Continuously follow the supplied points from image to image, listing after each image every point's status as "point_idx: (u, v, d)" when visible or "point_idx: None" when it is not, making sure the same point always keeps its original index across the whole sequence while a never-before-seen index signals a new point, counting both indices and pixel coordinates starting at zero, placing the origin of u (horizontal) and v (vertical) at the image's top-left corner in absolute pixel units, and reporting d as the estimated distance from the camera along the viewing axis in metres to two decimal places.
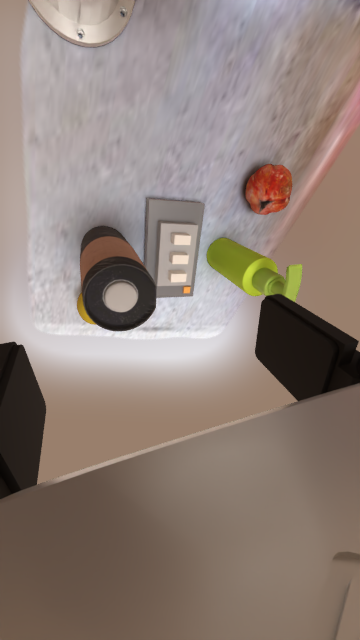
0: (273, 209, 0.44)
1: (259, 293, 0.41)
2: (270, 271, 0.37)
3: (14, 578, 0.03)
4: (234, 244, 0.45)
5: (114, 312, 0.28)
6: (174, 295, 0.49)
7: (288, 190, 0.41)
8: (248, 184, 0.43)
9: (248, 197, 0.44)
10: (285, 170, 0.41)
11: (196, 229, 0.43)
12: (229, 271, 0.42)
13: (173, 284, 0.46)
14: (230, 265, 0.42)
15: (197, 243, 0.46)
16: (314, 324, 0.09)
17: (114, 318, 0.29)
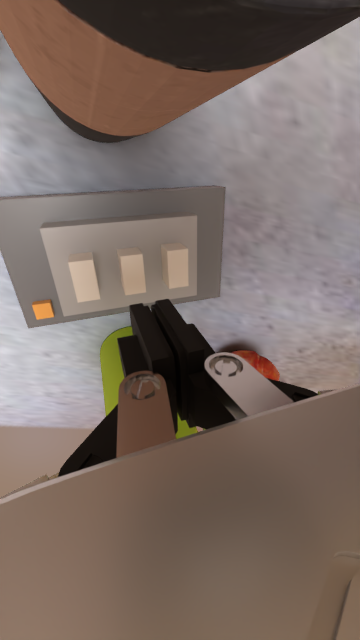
0: None
1: None
2: None
3: (14, 578, 0.03)
4: None
5: None
6: (17, 284, 0.19)
7: None
8: (248, 353, 0.29)
9: None
10: None
11: (188, 294, 0.21)
12: None
13: (55, 273, 0.18)
14: None
15: (152, 303, 0.23)
16: (175, 331, 0.09)
17: None
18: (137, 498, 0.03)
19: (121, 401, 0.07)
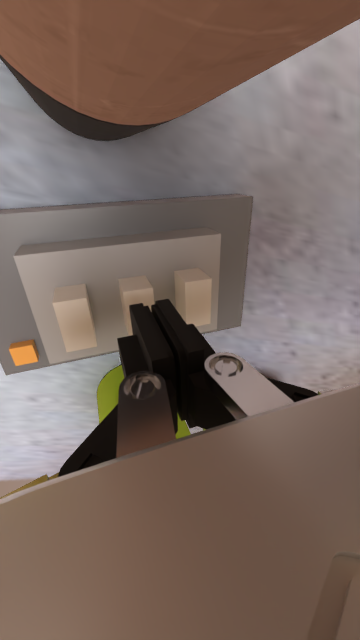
0: None
1: None
2: None
3: (14, 579, 0.03)
4: None
5: None
6: None
7: None
8: None
9: None
10: None
11: (207, 328, 0.17)
12: None
13: (37, 312, 0.13)
14: None
15: None
16: (175, 331, 0.09)
17: None
18: (137, 498, 0.03)
19: (121, 401, 0.07)
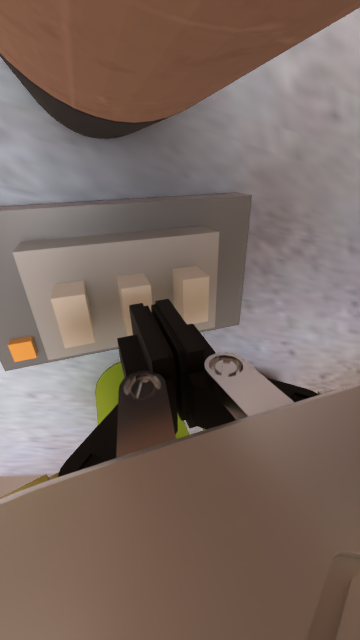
0: None
1: None
2: None
3: (14, 578, 0.03)
4: None
5: None
6: None
7: None
8: None
9: None
10: None
11: (205, 326, 0.17)
12: None
13: (35, 308, 0.13)
14: None
15: None
16: (175, 331, 0.09)
17: None
18: (137, 498, 0.03)
19: (121, 401, 0.07)
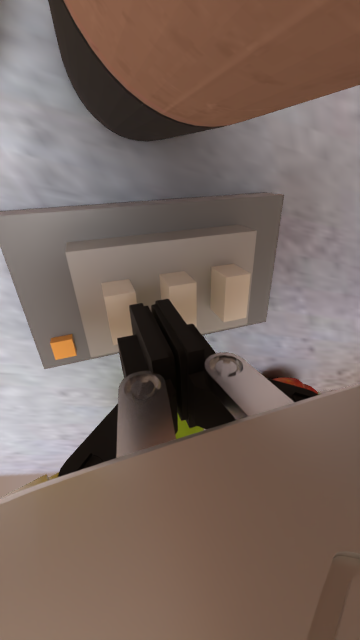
0: None
1: None
2: None
3: (14, 579, 0.03)
4: None
5: None
6: (31, 317, 0.15)
7: None
8: (291, 382, 0.25)
9: None
10: None
11: (238, 323, 0.18)
12: None
13: (83, 306, 0.14)
14: None
15: None
16: (175, 331, 0.09)
17: None
18: (137, 498, 0.03)
19: (121, 401, 0.07)
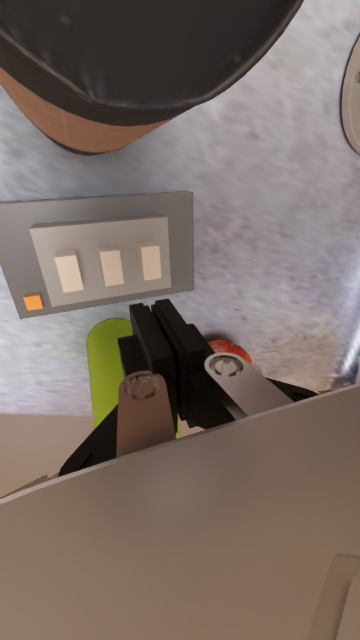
0: None
1: None
2: None
3: (14, 578, 0.03)
4: None
5: None
6: (9, 278, 0.22)
7: None
8: (222, 341, 0.32)
9: None
10: None
11: (163, 286, 0.24)
12: (120, 373, 0.21)
13: (43, 267, 0.20)
14: None
15: (132, 296, 0.26)
16: (175, 331, 0.09)
17: None
18: (137, 498, 0.03)
19: (121, 401, 0.07)
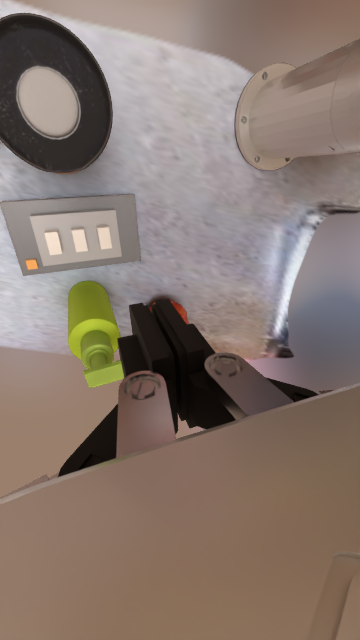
0: None
1: (74, 349, 0.31)
2: (111, 346, 0.30)
3: (14, 578, 0.03)
4: (110, 305, 0.39)
5: (13, 89, 0.16)
6: (16, 248, 0.34)
7: None
8: None
9: None
10: None
11: (116, 255, 0.37)
12: (85, 305, 0.34)
13: (38, 240, 0.33)
14: (93, 303, 0.34)
15: (97, 263, 0.39)
16: (175, 331, 0.09)
17: (0, 88, 0.16)
18: (137, 498, 0.03)
19: (121, 401, 0.07)
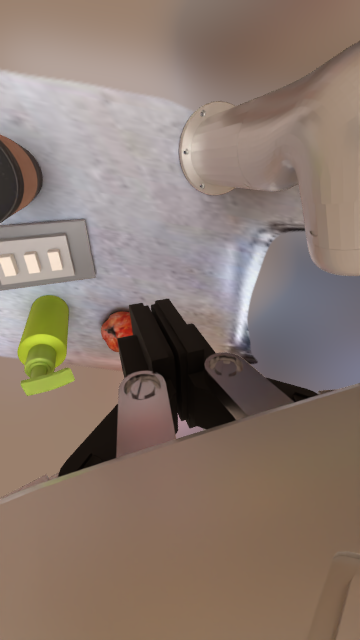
0: (109, 341, 0.47)
1: (23, 360, 0.36)
2: (54, 358, 0.35)
3: (14, 578, 0.03)
4: (66, 318, 0.44)
5: None
6: None
7: None
8: (122, 312, 0.49)
9: (112, 316, 0.48)
10: None
11: (69, 274, 0.41)
12: (36, 320, 0.38)
13: None
14: (44, 319, 0.39)
15: (54, 280, 0.43)
16: (175, 331, 0.09)
17: None
18: (137, 498, 0.03)
19: (121, 401, 0.07)
